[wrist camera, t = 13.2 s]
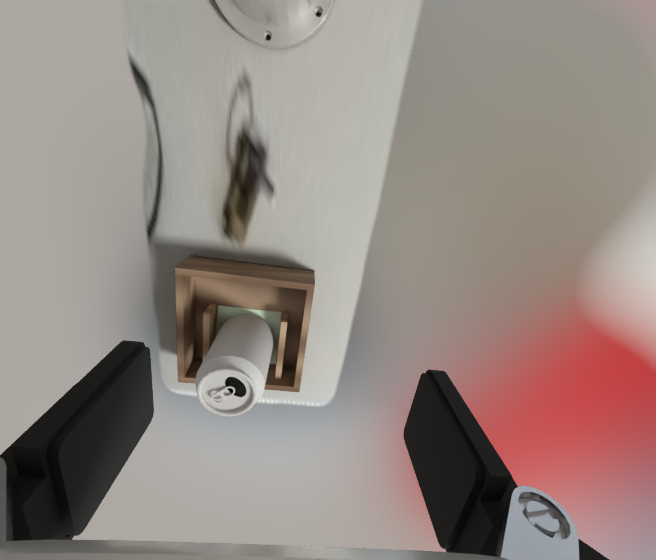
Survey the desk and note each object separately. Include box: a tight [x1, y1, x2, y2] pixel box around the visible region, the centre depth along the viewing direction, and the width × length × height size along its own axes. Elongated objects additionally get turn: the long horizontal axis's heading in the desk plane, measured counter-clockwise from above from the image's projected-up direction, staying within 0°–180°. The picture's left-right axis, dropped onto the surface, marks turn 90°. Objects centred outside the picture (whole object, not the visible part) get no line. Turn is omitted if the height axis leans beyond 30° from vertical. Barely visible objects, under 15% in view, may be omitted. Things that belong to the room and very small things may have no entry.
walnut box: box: [175, 255, 315, 392], centre depth 41 cm, size 16×16×5 cm
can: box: [195, 315, 274, 416], centre depth 38 cm, size 8×8×12 cm
